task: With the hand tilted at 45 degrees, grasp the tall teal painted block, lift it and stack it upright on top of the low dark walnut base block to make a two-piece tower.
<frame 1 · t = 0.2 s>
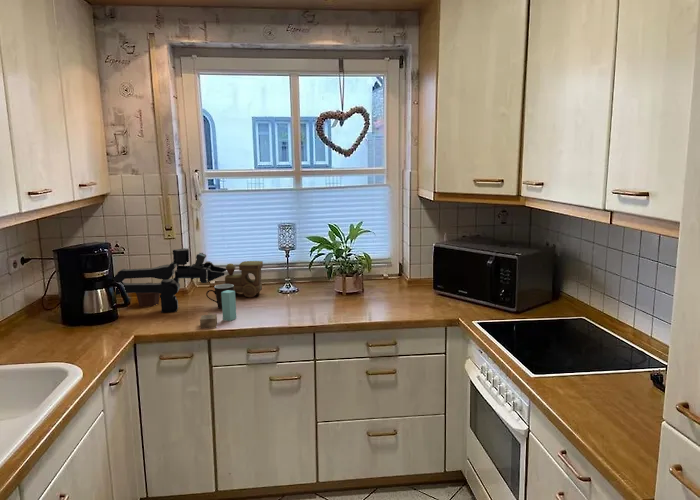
hand: (225, 271, 240), 17 cm above the worktop, tool horizontal, fingers open, 9 cm apart
muffin: (149, 304, 250), on the worktop
wooden toy train: (242, 295, 264), on the worktop
tall block: (229, 319, 225), on the worktop
coffee mug: (222, 307, 243), on the worktop
base block: (209, 326, 216), on the worktop
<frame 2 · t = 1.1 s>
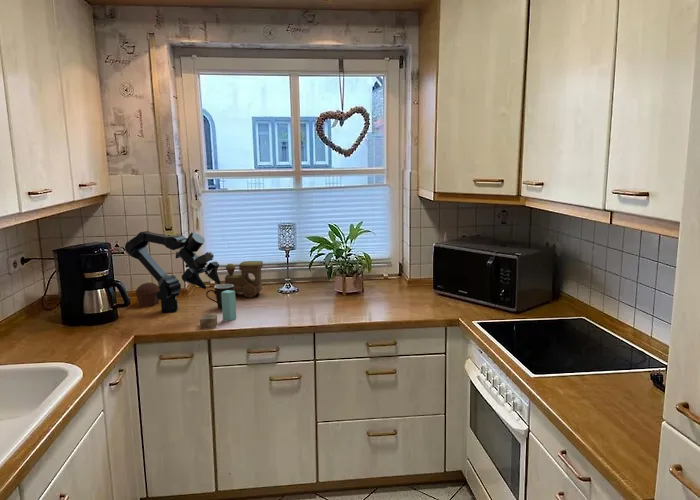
hand: (212, 286, 226), 14 cm above the worktop, tool tilted 45°, fingers open, 9 cm apart
nothing on the worktop moved.
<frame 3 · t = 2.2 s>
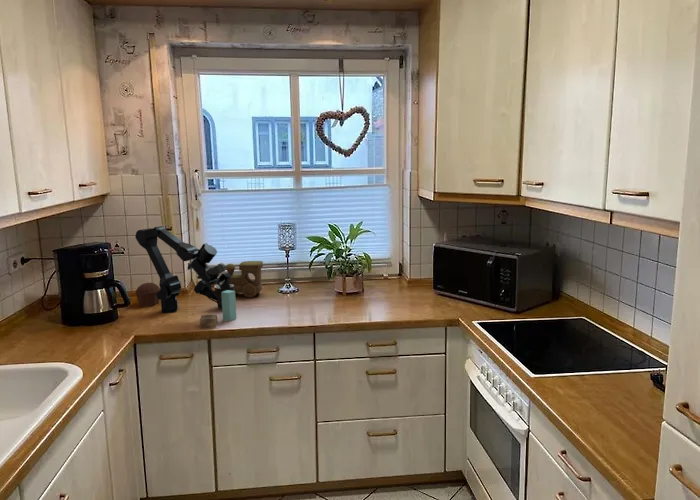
hand: (225, 297, 224), 9 cm above the worktop, tool tilted 45°, fingers open, 9 cm apart
nothing on the worktop moved.
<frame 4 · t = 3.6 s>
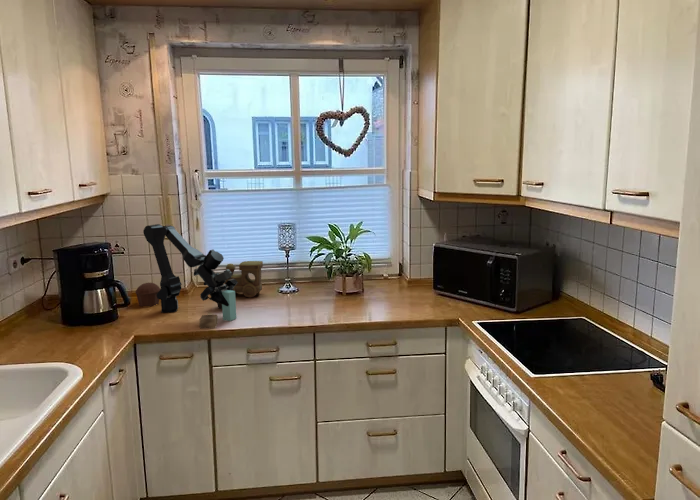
hand: (231, 304, 223), 7 cm above the worktop, tool tilted 45°, fingers closed on tall block, 4 cm apart
tall block: (229, 319, 225), on the worktop, touching gripper
everything else where it was.
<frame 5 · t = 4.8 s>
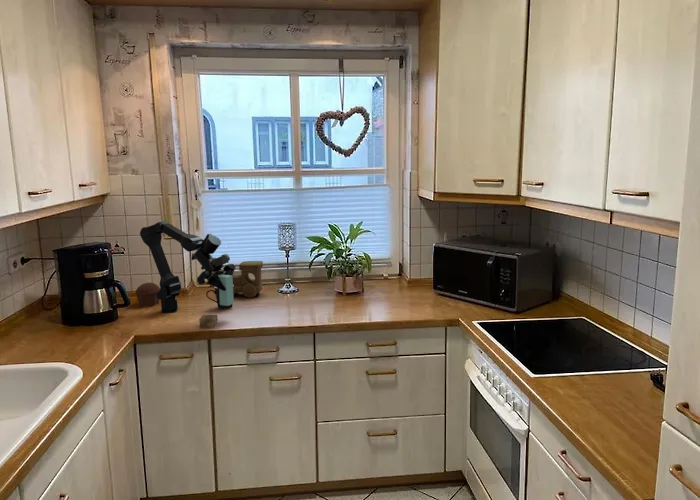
hand: (228, 289, 221), 13 cm above the worktop, tool tilted 45°, fingers closed on tall block, 4 cm apart
tall block: (226, 304, 223), point 7 cm above the worktop, touching gripper
everything else where it was.
when the fingers open (11 cm above the worktop, at t = 6.1 s): tall block stays where it is, resting on base block.
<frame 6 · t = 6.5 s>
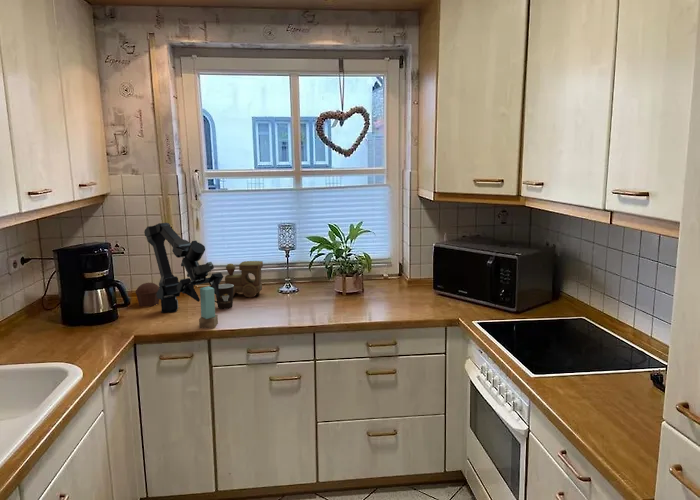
hand: (209, 298, 213), 12 cm above the worktop, tool tilted 45°, fingers open, 9 cm apart
tall block: (208, 316, 215), point 4 cm above the worktop, touching base block
base block: (208, 326, 216), on the worktop, touching tall block
everything else where it was.
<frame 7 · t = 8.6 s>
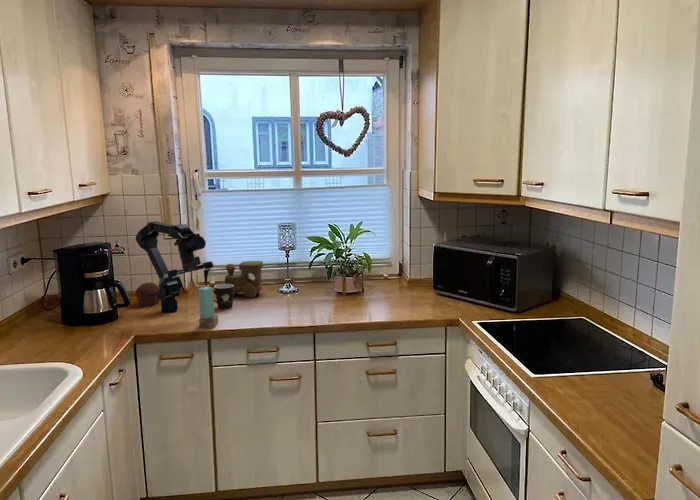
hand: (195, 289, 226), 12 cm above the worktop, tool tilted 15°, fingers open, 9 cm apart
tall block: (207, 316, 215), point 4 cm above the worktop
base block: (209, 326, 216), on the worktop
everything else where it was.
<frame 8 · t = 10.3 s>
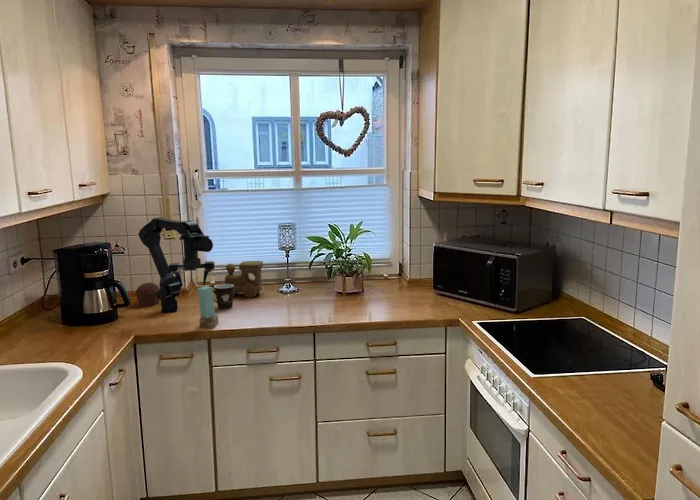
hand: (193, 286, 229), 13 cm above the worktop, tool pointing down, fingers open, 9 cm apart
tall block: (208, 316, 216), point 4 cm above the worktop, touching base block
base block: (209, 326, 216), on the worktop, touching tall block
everything else where it was.
at the end: tall block 0.4 cm off-centre on the base block, point 4.1 cm above the base block's base; tall block tilted 2°; the gripper is holding nothing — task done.
